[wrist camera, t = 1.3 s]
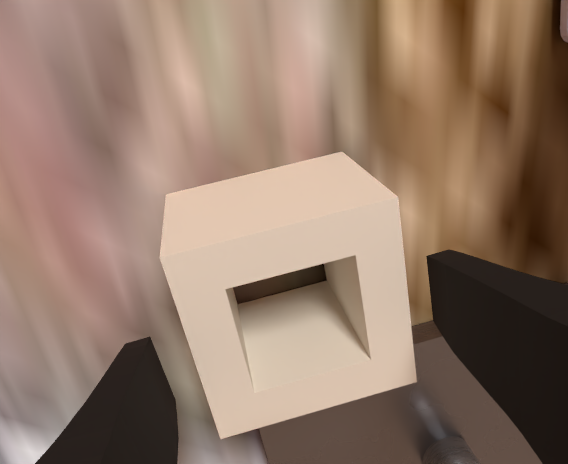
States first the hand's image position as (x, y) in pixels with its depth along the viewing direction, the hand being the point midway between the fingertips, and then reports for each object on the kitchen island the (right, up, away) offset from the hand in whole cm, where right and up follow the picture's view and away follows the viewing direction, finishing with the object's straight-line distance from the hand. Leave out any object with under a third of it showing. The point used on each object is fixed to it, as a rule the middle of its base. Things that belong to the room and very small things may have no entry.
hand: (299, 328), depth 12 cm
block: (-1, +2, +4) cm, 4 cm away
